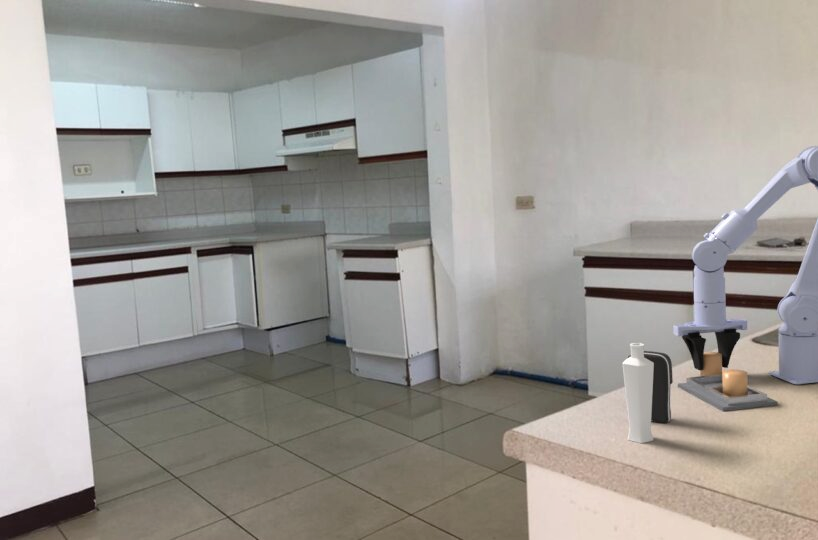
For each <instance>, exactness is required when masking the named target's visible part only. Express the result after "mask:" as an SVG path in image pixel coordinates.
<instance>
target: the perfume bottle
mask: <svg viewBox="0 0 818 540" xmlns="http://www.w3.org/2000/svg"><path fill="white" fill-rule="evenodd" d="M629 347H630V354H631V357H629V358H628V357H627V358H626V359H624V361H623V362H622V364H621V365H622V370H623V381H624V383H623V384H624V390H625V391H624V392H625V400H626V409H627V421H628V428H629V430H628V434H627V435H628V436H627V441H632V442H634V443H639V444H644V443H645V444H646V443H649V442H652V441H654V439H655V438H654V436H653V433H652V421H651V413H652V391H653V370H654V363H653V362H651V361H650V360H648V359H646V358H645V357H644V351H645V350H644V349H645V348H644V347H645V344H644V343H642V342H633V343H632V342H631V343H630V344H629Z"/></svg>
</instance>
